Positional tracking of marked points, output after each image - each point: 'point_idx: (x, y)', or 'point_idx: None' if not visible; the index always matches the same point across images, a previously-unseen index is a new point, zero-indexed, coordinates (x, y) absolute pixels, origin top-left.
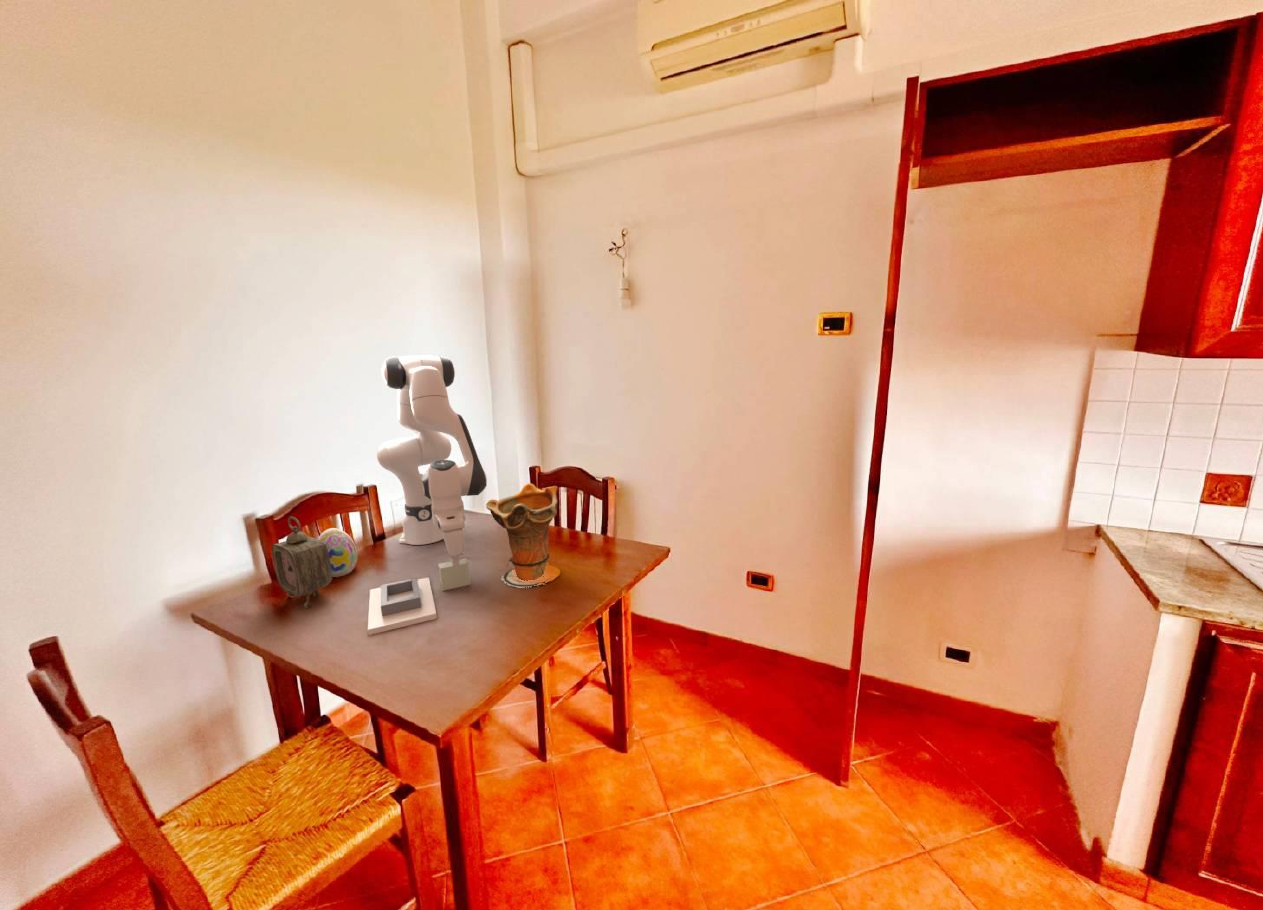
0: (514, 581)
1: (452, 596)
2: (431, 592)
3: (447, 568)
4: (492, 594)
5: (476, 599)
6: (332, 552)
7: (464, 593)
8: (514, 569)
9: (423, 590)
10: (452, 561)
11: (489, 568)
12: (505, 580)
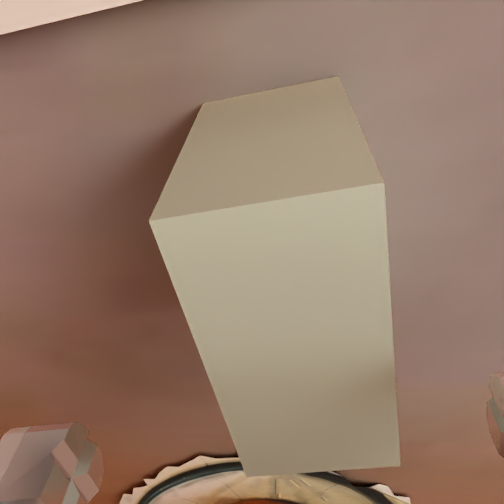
0: (205, 489)
1: (72, 196)
2: (47, 18)
3: (188, 297)
4: (76, 405)
5: (16, 337)
6: None
7: (113, 273)
8: (364, 499)
9: None
10: (6, 494)
11: (478, 402)
12: (231, 463)
